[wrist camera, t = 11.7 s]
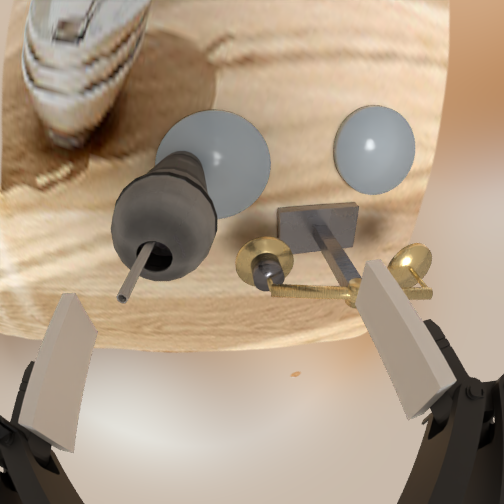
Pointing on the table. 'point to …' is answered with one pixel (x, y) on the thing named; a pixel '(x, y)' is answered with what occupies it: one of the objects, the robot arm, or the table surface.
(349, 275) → the balance
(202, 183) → the beverage cup
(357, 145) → the dish light side
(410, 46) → the table surface
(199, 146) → the grey flat disc
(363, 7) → the table surface
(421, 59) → the table surface
